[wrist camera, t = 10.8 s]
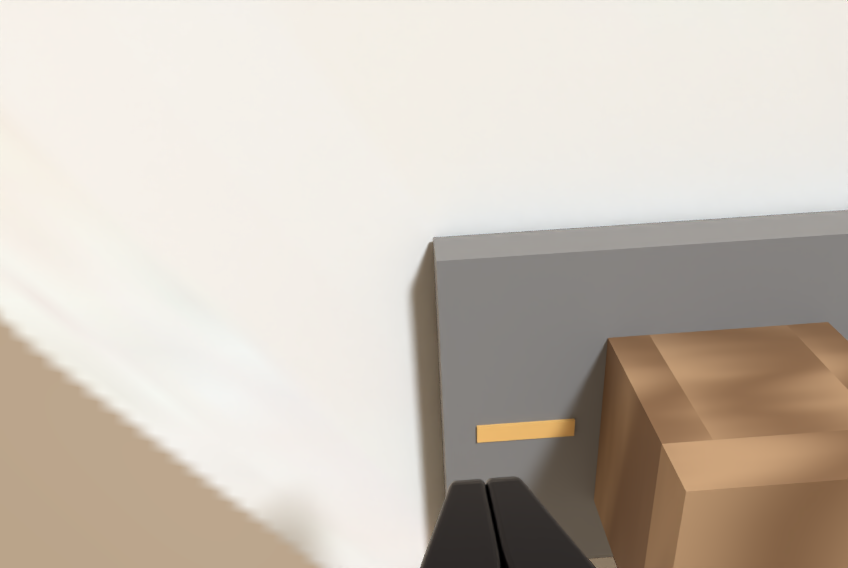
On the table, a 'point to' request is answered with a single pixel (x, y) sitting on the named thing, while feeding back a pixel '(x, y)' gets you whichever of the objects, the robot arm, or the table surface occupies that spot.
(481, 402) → the gray rectangular slab
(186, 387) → the table surface
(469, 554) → the robot arm
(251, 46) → the table surface
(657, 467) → the shipping carton
